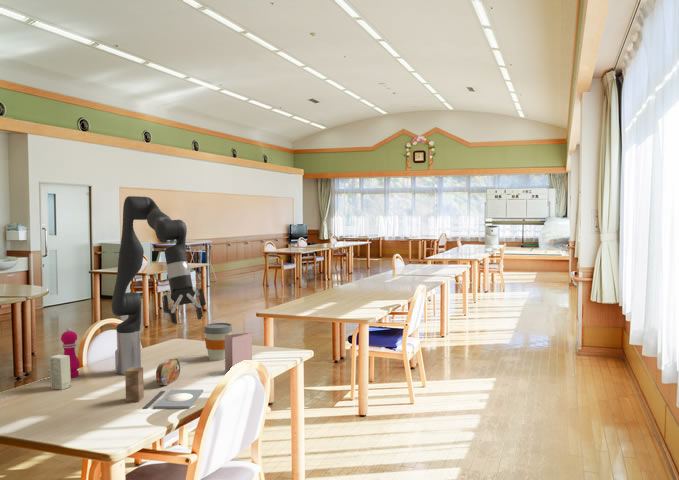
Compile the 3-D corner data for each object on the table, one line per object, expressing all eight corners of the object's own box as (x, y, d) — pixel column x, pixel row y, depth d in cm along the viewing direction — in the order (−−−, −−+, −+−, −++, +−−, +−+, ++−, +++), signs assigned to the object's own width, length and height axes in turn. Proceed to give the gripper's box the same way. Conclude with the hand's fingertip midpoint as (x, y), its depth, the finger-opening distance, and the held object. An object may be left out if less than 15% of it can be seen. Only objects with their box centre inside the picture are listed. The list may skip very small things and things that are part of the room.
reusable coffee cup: (229, 361, 249) (228, 328, 248) (201, 361, 249) (200, 328, 249) (235, 354, 262) (234, 322, 261) (208, 354, 262) (207, 322, 261)
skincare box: (71, 386, 213) (70, 355, 213) (61, 390, 209) (60, 358, 209) (60, 384, 216) (59, 353, 215) (49, 388, 212) (48, 356, 211)
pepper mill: (60, 379, 223) (59, 330, 222) (60, 375, 229) (58, 326, 228) (80, 377, 226) (79, 328, 225) (79, 372, 233) (78, 325, 232)
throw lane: (142, 408, 189) (142, 405, 189) (161, 391, 207) (161, 389, 207) (189, 408, 188) (189, 405, 188) (203, 391, 206) (203, 389, 206)
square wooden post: (125, 401, 196) (125, 370, 195) (131, 397, 200) (130, 367, 200) (138, 402, 196) (138, 371, 195) (143, 397, 200) (143, 367, 200)
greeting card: (251, 367, 240) (251, 332, 239) (255, 371, 233) (254, 335, 232) (224, 369, 236) (224, 334, 235) (227, 374, 229) (227, 338, 228)
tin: (162, 388, 211) (161, 366, 211) (154, 387, 212) (154, 365, 211) (181, 376, 226) (180, 356, 225) (174, 376, 226) (173, 356, 226)
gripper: (196, 274, 202) (204, 318, 200) (156, 280, 194) (164, 326, 192) (202, 271, 195) (210, 316, 194) (161, 277, 188) (169, 325, 186)
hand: (187, 321), depth 193 cm, fingers open, 8 cm apart
